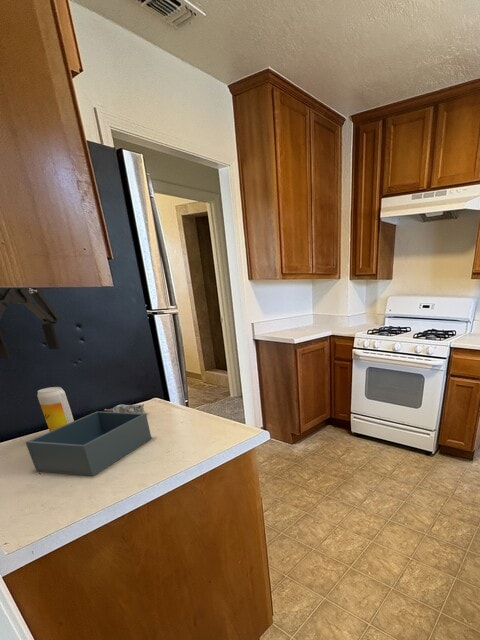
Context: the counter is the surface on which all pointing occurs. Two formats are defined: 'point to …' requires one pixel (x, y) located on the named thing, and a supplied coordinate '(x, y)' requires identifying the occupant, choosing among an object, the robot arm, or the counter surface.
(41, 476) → the counter surface
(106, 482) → the counter surface
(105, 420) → the tub
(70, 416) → the beer can
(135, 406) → the egg carton
